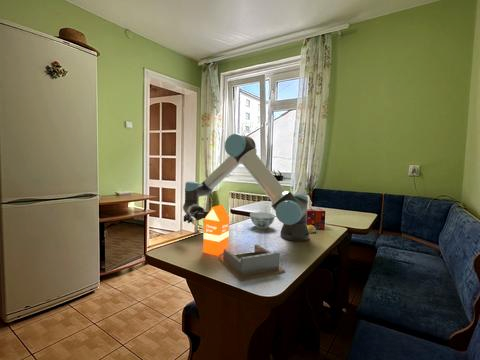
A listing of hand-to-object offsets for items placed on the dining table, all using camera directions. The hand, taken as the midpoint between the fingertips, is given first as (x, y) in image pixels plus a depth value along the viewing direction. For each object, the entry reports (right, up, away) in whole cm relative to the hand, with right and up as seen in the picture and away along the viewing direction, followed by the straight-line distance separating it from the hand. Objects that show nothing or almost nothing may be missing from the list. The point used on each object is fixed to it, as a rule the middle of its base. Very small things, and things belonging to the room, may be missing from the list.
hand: (209, 221), depth 117 cm
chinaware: (+28, -10, +35) cm, 46 cm away
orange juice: (+4, -12, -7) cm, 15 cm away
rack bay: (+18, -13, -21) cm, 31 cm away
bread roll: (+55, -11, +31) cm, 64 cm away
